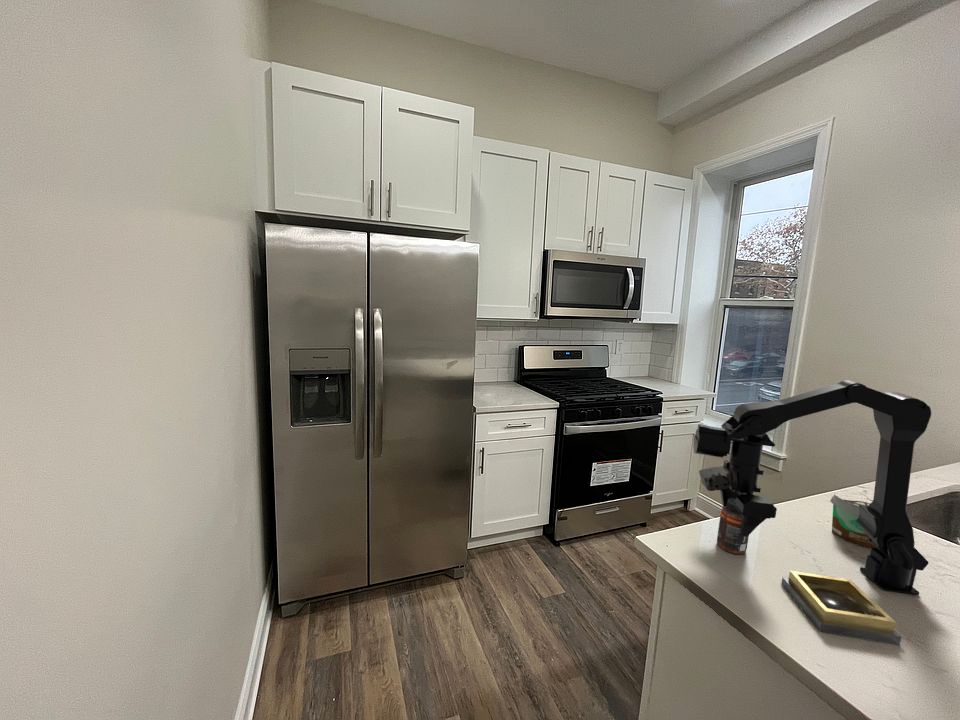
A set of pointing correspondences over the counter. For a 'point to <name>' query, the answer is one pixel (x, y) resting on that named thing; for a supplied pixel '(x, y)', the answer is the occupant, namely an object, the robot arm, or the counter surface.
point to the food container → (848, 522)
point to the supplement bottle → (731, 530)
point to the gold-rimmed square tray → (840, 607)
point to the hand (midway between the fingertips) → (735, 524)
